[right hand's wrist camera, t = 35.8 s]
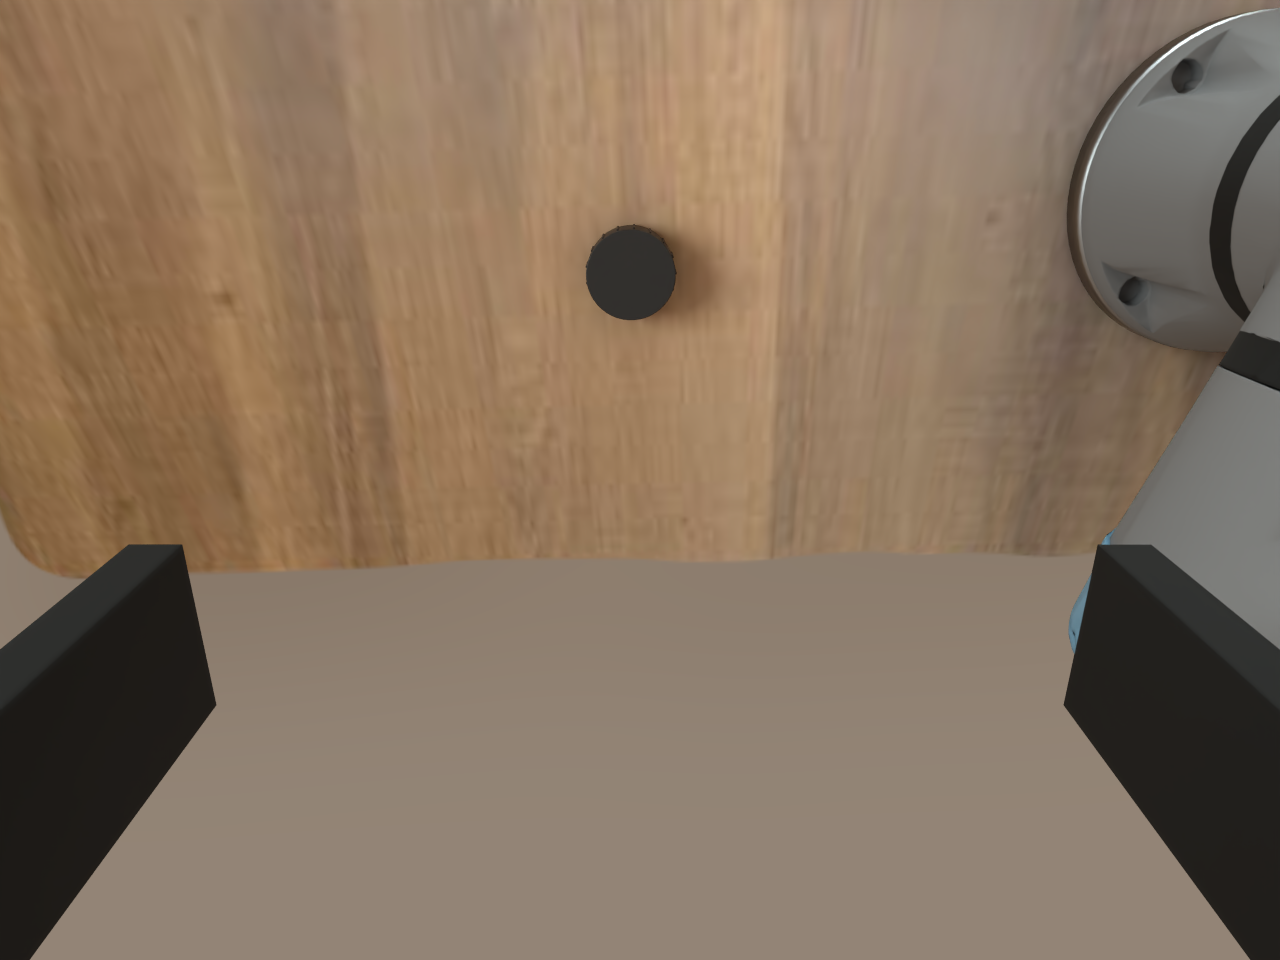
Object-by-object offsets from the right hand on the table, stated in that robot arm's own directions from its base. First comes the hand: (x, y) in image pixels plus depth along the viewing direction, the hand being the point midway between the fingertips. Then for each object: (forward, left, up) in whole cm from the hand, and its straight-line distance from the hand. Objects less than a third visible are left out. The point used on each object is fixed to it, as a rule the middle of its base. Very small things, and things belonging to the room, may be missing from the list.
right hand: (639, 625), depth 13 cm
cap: (0, 0, -32) cm, 32 cm away
